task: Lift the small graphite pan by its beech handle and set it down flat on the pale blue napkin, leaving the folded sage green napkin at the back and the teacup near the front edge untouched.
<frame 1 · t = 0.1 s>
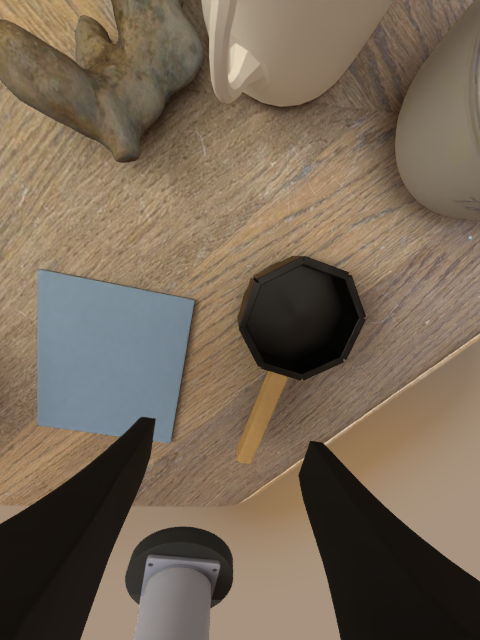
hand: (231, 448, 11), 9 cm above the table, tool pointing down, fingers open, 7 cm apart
pan: (291, 312, 19), on the table
mug: (276, 45, 15), on the table
teacup: (466, 132, 16), on the table
napkin: (113, 364, 19), on the table
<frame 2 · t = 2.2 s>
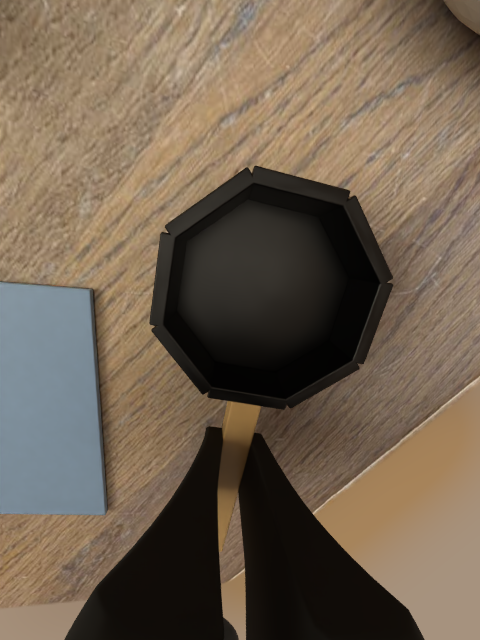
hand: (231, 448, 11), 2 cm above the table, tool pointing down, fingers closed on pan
pan: (260, 291, 11), on the table, touching gripper
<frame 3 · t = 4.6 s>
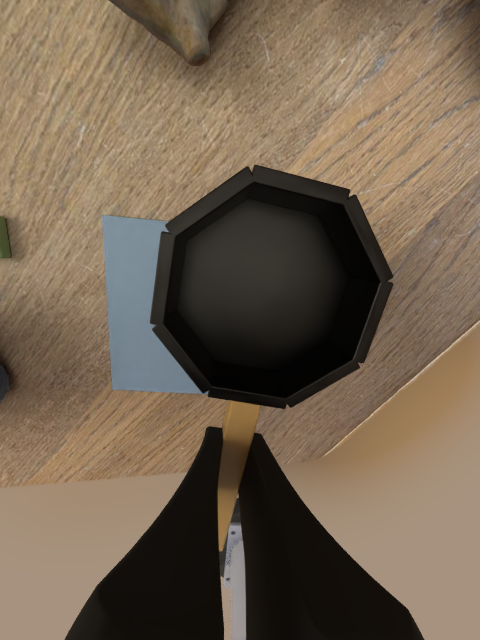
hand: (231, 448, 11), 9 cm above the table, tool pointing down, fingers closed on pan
pan: (260, 290, 11), point 7 cm above the table, touching gripper
napkin: (184, 315, 18), on the table
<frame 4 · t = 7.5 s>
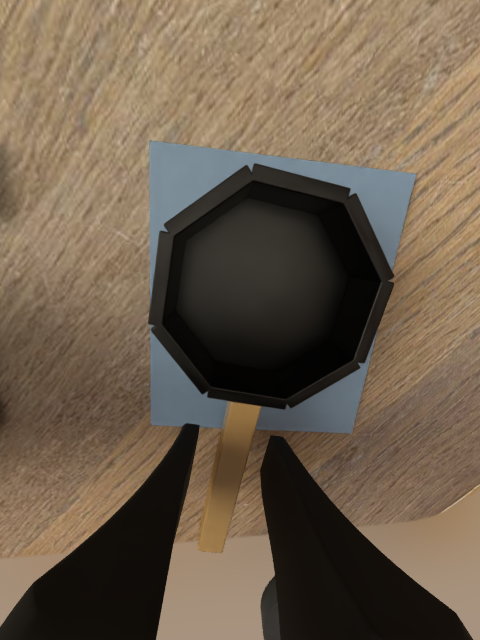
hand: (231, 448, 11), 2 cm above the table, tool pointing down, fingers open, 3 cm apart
pan: (260, 290, 11), resting on napkin
napkin: (267, 312, 12), on the table
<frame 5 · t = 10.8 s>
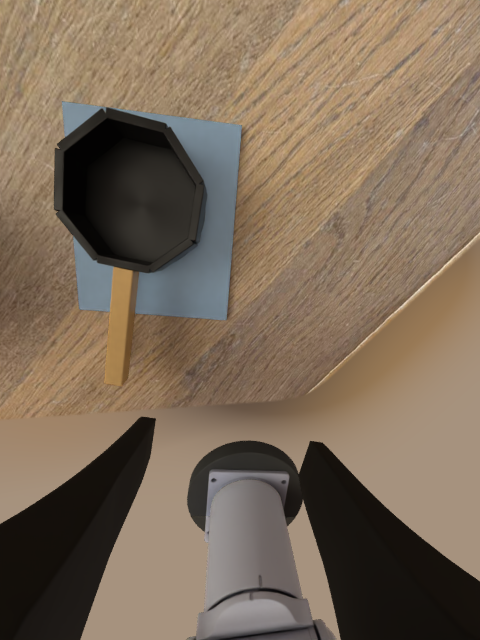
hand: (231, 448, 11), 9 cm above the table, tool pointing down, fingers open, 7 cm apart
pan: (146, 207, 16), resting on napkin
napkin: (155, 224, 17), on the table
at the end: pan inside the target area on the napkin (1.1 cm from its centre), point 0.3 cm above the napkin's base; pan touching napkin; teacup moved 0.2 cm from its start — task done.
